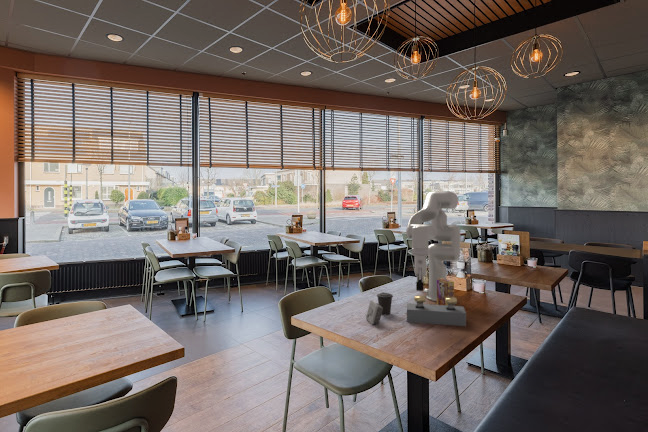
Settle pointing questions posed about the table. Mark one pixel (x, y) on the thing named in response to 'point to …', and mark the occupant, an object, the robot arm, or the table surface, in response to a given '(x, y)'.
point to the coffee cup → (385, 302)
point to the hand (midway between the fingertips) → (419, 290)
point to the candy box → (444, 290)
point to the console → (436, 314)
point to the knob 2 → (451, 302)
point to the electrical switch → (374, 313)
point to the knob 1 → (419, 300)
